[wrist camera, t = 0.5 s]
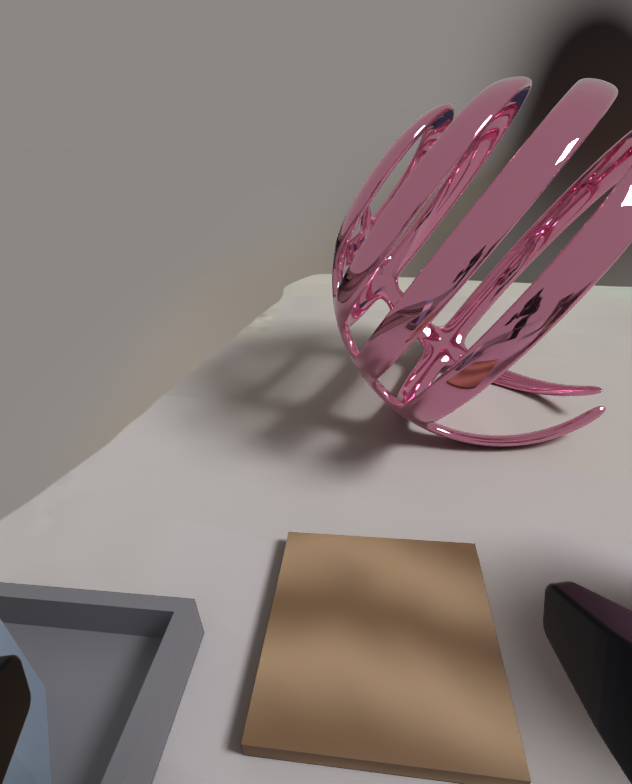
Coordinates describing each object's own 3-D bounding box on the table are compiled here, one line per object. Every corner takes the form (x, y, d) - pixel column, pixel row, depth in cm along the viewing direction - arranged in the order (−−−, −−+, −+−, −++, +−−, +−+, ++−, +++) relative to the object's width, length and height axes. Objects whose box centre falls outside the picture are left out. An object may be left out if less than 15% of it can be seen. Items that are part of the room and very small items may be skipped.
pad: (526, 791, 18) (530, 781, 18) (243, 755, 20) (240, 744, 19) (472, 554, 29) (474, 543, 28) (289, 542, 30) (288, 532, 30)
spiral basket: (831, 176, 33) (538, -41, 34) (905, 433, 17) (358, 15, 18) (546, 366, 56) (378, 233, 57) (467, 549, 40) (238, 360, 42)
